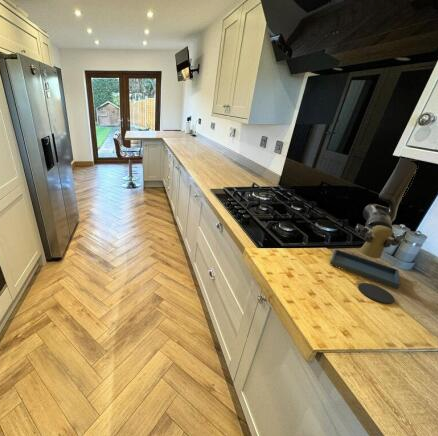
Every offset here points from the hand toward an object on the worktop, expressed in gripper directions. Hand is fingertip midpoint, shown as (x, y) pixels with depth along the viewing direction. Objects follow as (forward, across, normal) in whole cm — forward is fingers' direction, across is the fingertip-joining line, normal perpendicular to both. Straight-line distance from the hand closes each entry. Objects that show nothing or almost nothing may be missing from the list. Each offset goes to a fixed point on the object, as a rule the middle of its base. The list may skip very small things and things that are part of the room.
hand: (377, 242), depth 82 cm
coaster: (+12, +4, +13) cm, 18 cm away
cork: (-3, 0, +6) cm, 7 cm away
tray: (-2, 0, +13) cm, 13 cm away
